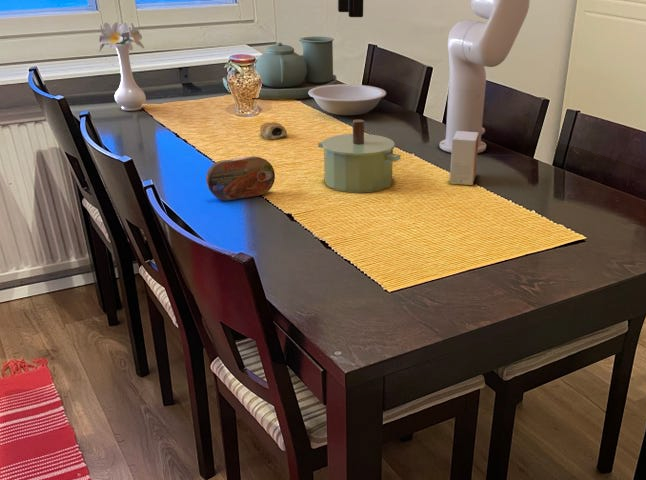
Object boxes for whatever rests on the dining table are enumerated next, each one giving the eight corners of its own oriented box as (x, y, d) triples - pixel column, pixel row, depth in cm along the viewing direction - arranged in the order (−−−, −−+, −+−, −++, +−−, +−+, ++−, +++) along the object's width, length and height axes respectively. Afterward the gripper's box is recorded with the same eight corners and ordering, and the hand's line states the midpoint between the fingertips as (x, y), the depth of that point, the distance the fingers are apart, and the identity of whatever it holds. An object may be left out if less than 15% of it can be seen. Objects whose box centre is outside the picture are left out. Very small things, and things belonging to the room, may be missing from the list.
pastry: (255, 132, 211) (254, 118, 209) (277, 130, 214) (276, 116, 212) (266, 140, 204) (265, 126, 202) (289, 138, 206) (289, 124, 205)
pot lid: (347, 135, 180) (347, 108, 177) (407, 145, 173) (408, 118, 170) (307, 150, 168) (306, 123, 165) (370, 163, 161) (370, 134, 157)
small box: (472, 186, 173) (476, 140, 168) (449, 184, 174) (451, 138, 169) (476, 175, 180) (479, 131, 174) (453, 174, 181) (456, 130, 175)
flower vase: (147, 100, 243) (135, 17, 230) (156, 113, 228) (143, 24, 215) (105, 103, 238) (91, 18, 225) (112, 116, 224) (96, 26, 211)
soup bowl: (400, 112, 235) (400, 90, 232) (357, 127, 218) (357, 104, 214) (338, 101, 246) (338, 81, 242) (293, 115, 228) (292, 93, 225)
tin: (210, 203, 160) (206, 164, 156) (206, 198, 162) (202, 160, 158) (276, 193, 166) (274, 156, 162) (271, 189, 169) (269, 152, 164)
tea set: (304, 74, 286) (303, 27, 277) (357, 93, 257) (357, 42, 249) (206, 83, 267) (201, 34, 259) (251, 105, 239) (247, 51, 230)
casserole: (339, 166, 185) (339, 131, 180) (413, 180, 176) (414, 145, 171) (302, 182, 173) (301, 146, 169) (379, 199, 164) (380, 161, 160)
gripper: (379, -72, 152) (376, 19, 161) (357, -74, 167) (356, 10, 175) (343, -73, 150) (343, 19, 159) (324, -75, 165) (325, 10, 173)
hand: (350, 14), depth 167 cm, fingers open, 9 cm apart
